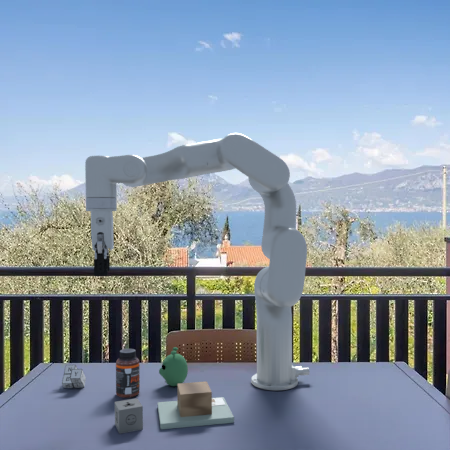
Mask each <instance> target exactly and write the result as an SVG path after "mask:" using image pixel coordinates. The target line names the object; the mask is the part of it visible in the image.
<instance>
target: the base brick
mask: <svg viewBox="0 0 450 450" xmlns="http://www.w3.org/2000/svg"><path fill="white" fill-rule="evenodd" d="M176 387H177V390H176V391H177V393H176V394H177V400H176V401H177V402H178V409H179V413H180V417H188V416H199V415H210V414H212V398H213V396H212V394H213V393H212V389H211V387H210V385H209V383H208V381H196V382H195V381H194V382H183V383H179V384H177V386H176Z"/></svg>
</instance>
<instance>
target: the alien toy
mask: <svg viewBox="0 0 450 450" xmlns="http://www.w3.org/2000/svg"><path fill="white" fill-rule="evenodd" d="M178 350H179V348H178V347H176V346H175V347H173V348H172V350H171V352H170V354H168V355H167V356H166V357H165V358H164V359H163V361H162V365H161V367H160V368H159V369H158V374H159V375H160V376H161V377H162V378H163V379H164V380H165V381H164V382H165V383H166V384H167V385H168V386H171V387H177V384H179V383H185V380H186V379H187V377H188V371H189V368H188V363H187V360H186V358H185V357H184V356H183V355H182V354H180V353H177V351H178Z"/></svg>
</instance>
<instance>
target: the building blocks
mask: <svg viewBox="0 0 450 450" xmlns="http://www.w3.org/2000/svg"><path fill="white" fill-rule="evenodd" d="M86 380H87V378H86V375H85V372H84V371H83V369H82V368H78V367H77V365H76V364H65V367H64V371H63V376H62V380H61V385H62V387H63V388H64V389H81V388H82V389H83V388H85V386H86Z"/></svg>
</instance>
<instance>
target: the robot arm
mask: <svg viewBox="0 0 450 450" xmlns="http://www.w3.org/2000/svg"><path fill="white" fill-rule="evenodd" d="M84 167H85V168H84V169H85V170H84V171H85V211H86V212H90V231H91V233H90V234H91V235H90V237H91V244H92V245H91V248H92V251H94V259H93V276H94V277H107V276H108V275H109V272H110V265H111V264H110V259H111V258H110V252H109V251H113V250H114V248H115V247H114V245H115V244H114V243H115V242H114V238H115V237H114V216H113V212H117V211H118V209H117V204H118V203H117V202H118V201H117V197H118V195H117V194H118V193H117V184H122V185H125V186H126V187H129V188H130V187H131V188H136V187H141V186H147V185H152V184H159V183H163V182H164V183H165V182H169V181H175V180H184V179H188V178H194V177H200V176H203V175H210V174H215V173H221V172H226V171H231V170H235V169H236V170H237V171H239V172H241V174H243V175H244V176H246V177H248V182H249V185H250V187H251V188H252V189H254V191H256V192H257V193H258V194H259V195H260V197H261V198H262V201H263V204H264V219H263V228H262V229H263V230H262V238H261V244H260V245H261V251H262V254H263V255H264V256H265V258H267V259H268V260H269V264H268V266H266V267H264V268H262V269H261V270H260V271H259V272H258V273H257V274H256V276H255V279H254V284H253V285H254V287H253V288H254V290H253V291H254V297H255V298H254V299H255V309H256V373H254V374H253V375H252V376H251V377H250V381H251V382H250V383H251V384H252V385H253V386H254V387H256V388H258V389H261V390H266V391H285V390H286V391H287V390H290V389H293V388H296V387H297V386H298V385H299V378H298V377H299V376H310V374H311V373H310V368H309V367H302V365H300V366H294V365H293V344H292V343H293V335H292V331H293V328H292V327H293V318H292V317H293V314H292V313H293V312H292V307H293V306H294V305H296V304H297V303H298V302H299V300H300V299H301V297H302V295H303V291H304V287H305V277H306V268H307V267H306V266H307V257H308V247H307V242H306V238H305V237H304V235H303V234H302V233H301V232H300V231H299V230H298V229H296V223H297V222H296V221H297V220H296V219H297V200H296V196H295V193H294V192H293V189H292V187H291V186H290V184H289V181H290V178H291V176H290V168H289V167H288V165H287V163H286V162H285V160H283V159H282V158H280V156H278V155H276V154H275V153H273V152H272V151H270V150H269V149H267V148H265V147H264V146H262V145H261V144H259V143H258V142H257V141H255V140H254V139H251V138H250V137H248V136H246V135H245V134H242V133H239V132H232V133H229V134H227V135H226V136H224V137H223V138H217V139H211V140H206V141H199V142H193V143H192V142H191V143H187V144H186V143H185V144H182V145H179V146H176V147H174V148H172V149H171V150H169V151H166V152H163V153H159V154H155V155H150V156H144V157H140V156H138V155H135V154H123V155H116V156H109V155H100V154H99V155H90V156H88V157H87V158H86V159H85V165H84Z"/></svg>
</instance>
